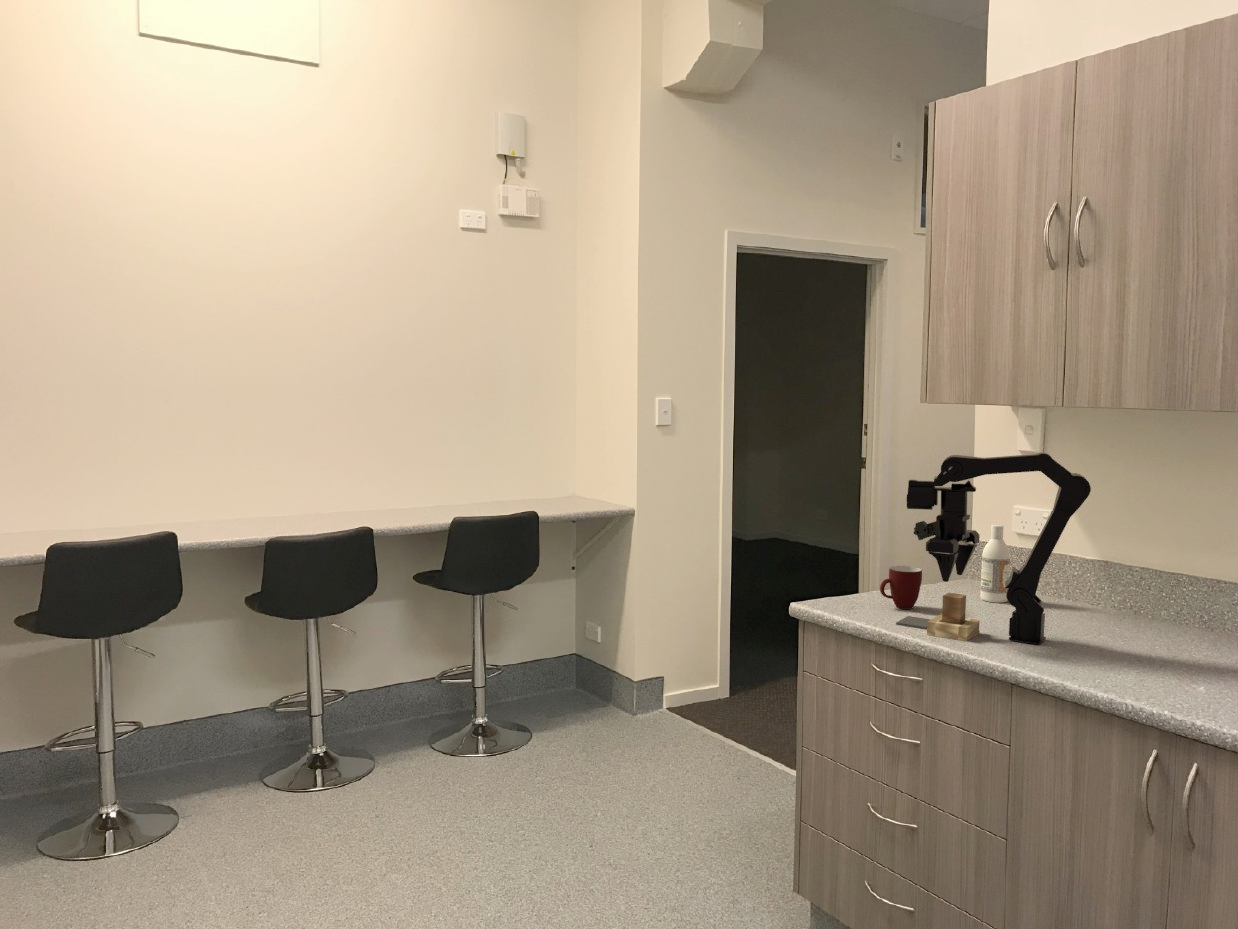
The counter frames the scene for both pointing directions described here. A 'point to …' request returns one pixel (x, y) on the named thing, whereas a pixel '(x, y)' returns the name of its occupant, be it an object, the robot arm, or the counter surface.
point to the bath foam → (995, 567)
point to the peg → (954, 608)
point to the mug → (903, 585)
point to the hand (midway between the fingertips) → (952, 578)
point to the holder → (953, 629)
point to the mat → (914, 622)
